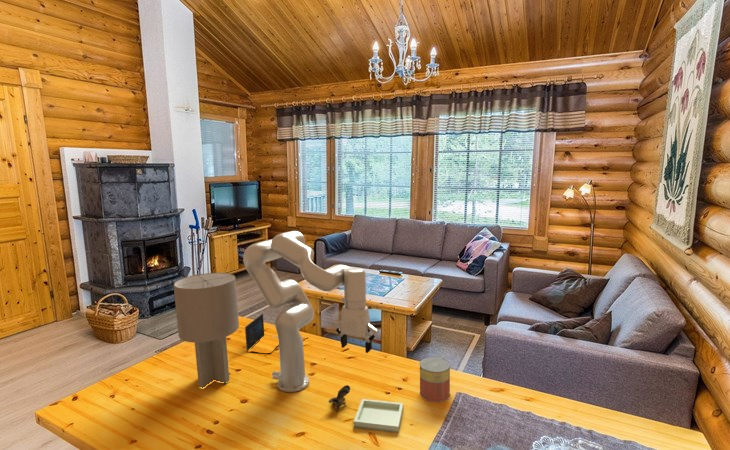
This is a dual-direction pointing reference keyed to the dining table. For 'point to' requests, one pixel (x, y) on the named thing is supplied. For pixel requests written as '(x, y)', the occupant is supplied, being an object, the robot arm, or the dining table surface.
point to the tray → (379, 415)
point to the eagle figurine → (340, 397)
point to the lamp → (207, 321)
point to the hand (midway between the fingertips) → (356, 348)
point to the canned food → (435, 379)
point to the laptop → (254, 331)
